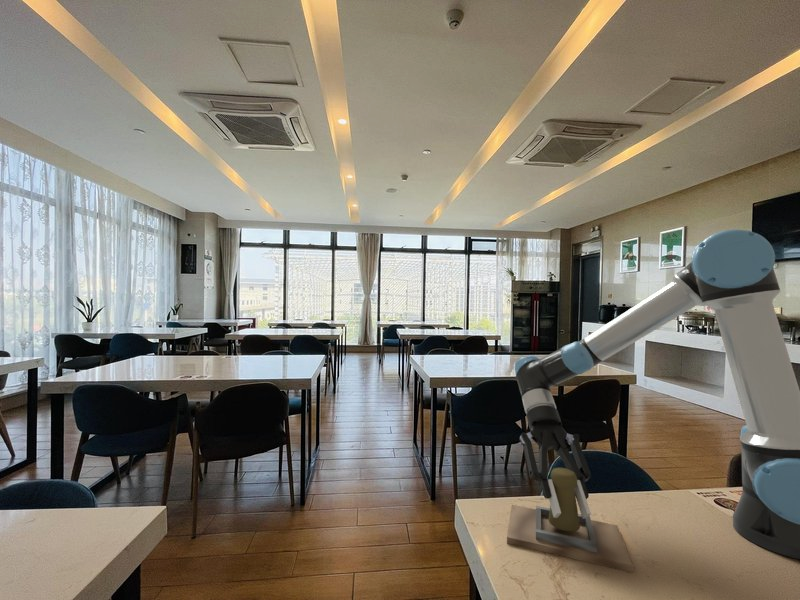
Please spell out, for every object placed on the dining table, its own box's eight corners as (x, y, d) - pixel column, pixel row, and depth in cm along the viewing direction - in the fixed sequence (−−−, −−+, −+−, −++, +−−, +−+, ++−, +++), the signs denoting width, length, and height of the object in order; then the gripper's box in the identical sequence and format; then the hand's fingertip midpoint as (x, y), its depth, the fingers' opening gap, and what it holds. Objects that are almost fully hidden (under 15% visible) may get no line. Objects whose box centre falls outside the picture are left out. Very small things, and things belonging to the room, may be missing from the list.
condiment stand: (617, 530, 78) (617, 517, 79) (632, 572, 65) (632, 556, 66) (511, 509, 86) (511, 498, 86) (506, 543, 73) (506, 529, 73)
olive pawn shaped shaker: (583, 533, 73) (583, 477, 73) (551, 529, 74) (551, 474, 74) (575, 517, 78) (574, 465, 79) (545, 513, 80) (545, 462, 80)
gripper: (573, 420, 92) (610, 523, 75) (501, 419, 92) (522, 520, 75) (583, 404, 87) (625, 510, 70) (507, 402, 87) (531, 507, 70)
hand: (572, 515), depth 72 cm, fingers closed on olive pawn shaped shaker, 5 cm apart
